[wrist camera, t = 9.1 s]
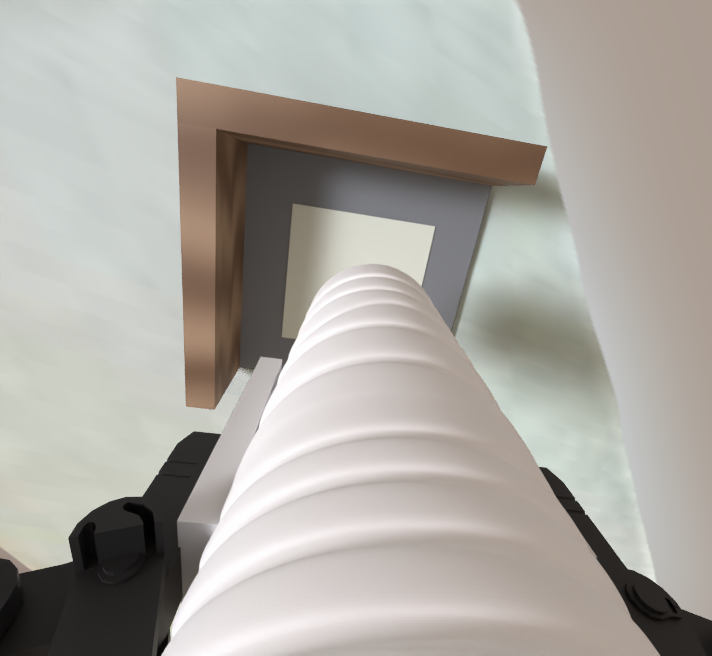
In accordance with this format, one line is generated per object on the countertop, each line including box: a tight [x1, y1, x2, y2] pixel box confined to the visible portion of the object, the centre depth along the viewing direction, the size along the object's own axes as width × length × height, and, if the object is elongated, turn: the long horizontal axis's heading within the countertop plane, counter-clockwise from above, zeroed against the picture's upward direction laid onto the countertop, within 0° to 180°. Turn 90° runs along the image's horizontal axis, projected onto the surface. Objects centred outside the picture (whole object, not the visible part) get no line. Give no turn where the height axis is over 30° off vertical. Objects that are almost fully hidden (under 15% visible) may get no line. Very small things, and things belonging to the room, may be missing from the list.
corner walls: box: [176, 77, 547, 410], centre depth 25 cm, size 20×20×7 cm
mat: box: [240, 143, 491, 371], centre depth 29 cm, size 18×18×1 cm
